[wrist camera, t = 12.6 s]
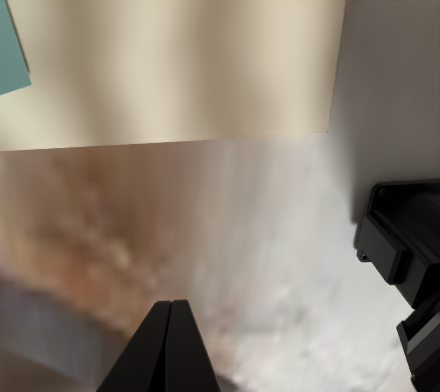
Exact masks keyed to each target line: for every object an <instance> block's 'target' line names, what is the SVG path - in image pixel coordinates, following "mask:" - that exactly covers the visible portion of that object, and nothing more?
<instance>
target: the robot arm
mask: <svg viewBox="0 0 440 392" xmlns="http://www.w3.org/2000/svg"><path fill="white" fill-rule="evenodd" d="M381 189H383V190H382V191H381V192H380V193H378V192H379V191H380V190H381ZM358 244H359V246H358V250H357V257H358V259H359V260H360V261H361V262H372V263H373V265H374V266H375V268H376V269H377V270H378V272H379V273H380V275H381V276H382V277H383V279H384V280H385V281H386V282H387V283H388V284H389V285H395V286H396V288H397V289H398V290H399V292H400V293H401V294H402V296H403V297H404V298H405V300H406V301H407V302H408V304H409V305H410V306H411V308H412V309H415V310H414V311H413V312H412V313H411V314H410V315H409V317H408V318H407V319H406V320H405V321H401V322H400V323H399V324H398V326H397V327H396V329H397V332H398V335H399V338H400V341H401V344H402V347H403V350H404V353H405V356H406V360H407V363H408V366H409V369H410V372H411V375H412V376H411V382H412V385H413V387H414V389H415V391H416V392H440V179H436V180H419V181H402V182H385V183H378V184H376V185H375V186H374V187H373V188H372V191H371V195H370V199H369V204H368V208H367V212H366V214H365V215H364V219H363V223H362V227H361V232H360V236H359V240H358ZM364 255H365V256H364ZM96 392H222V391H221V388H220V385H219V383H218V380H217V378H216V375H215V372H214V369H213V367H212V364H211V361H210V358H209V356H208V353H207V350H206V348H205V345H204V342H203V339H202V337H201V334H200V331H199V329H198V326H197V323H196V321H195V318H194V315H193V312H192V310H191V307H190V304H189V302H188V300H186V299H184V300H174V301H173V302H171V301H158V302H156V303H155V304H154V305H153V307H152V308H151V310H150V311H149V313H148V314H147V316H146V317H145V319H144V320H143V322H142V323H141V325H140V326H139V328H138V329H137V331H136V332H135V334H134V335H133V337H132V338H131V340H130V341H129V343H128V344H127V346H126V347H125V348H124V350H123V351H122V353H121V354H120V356H119V357H118V359H117V360H116V362H115V363H114V365H113V366H112V368H111V369H110V371H109V372H108V374H107V375H106V377H105V378H104V380H103V381H102V383H101V384H100V386H99V387H98V389H97V390H96Z"/></svg>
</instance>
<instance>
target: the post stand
mask: <svg viewBox="0 0 440 392" xmlns="http://www.w3.org/2000/svg"><path fill="white" fill-rule="evenodd" d="M4 1H5V4H6V7H7V10H8V13H9V16H10V19H11V22H12V25H13V28H14V31H15V34H16V37H17V40H18V44H19V47H20V50H21V53H22V56H23V59H24V62H25V65H26V68H27V71H28V74H29V77H30V80H31V83H32V85H30V86H27V87H24V88H21V89H18V90H15V91H12V92H9V93H5V94H2V95H0V151H11V150H29V149H48V148H66V147H84V146H102V145H121V144H139V143H157V142H175V141H194V140H212V139H230V138H248V137H267V136H285V135H303V134H321V133H328V126H329V119H330V112H331V105H332V98H333V90H334V83H335V76H336V69H337V62H338V55H339V47H340V40H341V33H342V26H343V19H344V11H345V4H346V0H4Z"/></svg>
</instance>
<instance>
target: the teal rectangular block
mask: <svg viewBox="0 0 440 392" xmlns="http://www.w3.org/2000/svg"><path fill="white" fill-rule="evenodd" d="M30 85H32V83H31V80H30V77H29V74H28V71H27V68H26V65H25V62H24V59H23V56H22V53H21V50H20V47H19V44H18V40H17V37H16V34H15V31H14V28H13V25H12V22H11V19H10V16H9V13H8V10H7V7H6V4H5V1H4V0H0V95H2V94H5V93H9V92H12V91H15V90H18V89H21V88H24V87H27V86H30Z"/></svg>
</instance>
